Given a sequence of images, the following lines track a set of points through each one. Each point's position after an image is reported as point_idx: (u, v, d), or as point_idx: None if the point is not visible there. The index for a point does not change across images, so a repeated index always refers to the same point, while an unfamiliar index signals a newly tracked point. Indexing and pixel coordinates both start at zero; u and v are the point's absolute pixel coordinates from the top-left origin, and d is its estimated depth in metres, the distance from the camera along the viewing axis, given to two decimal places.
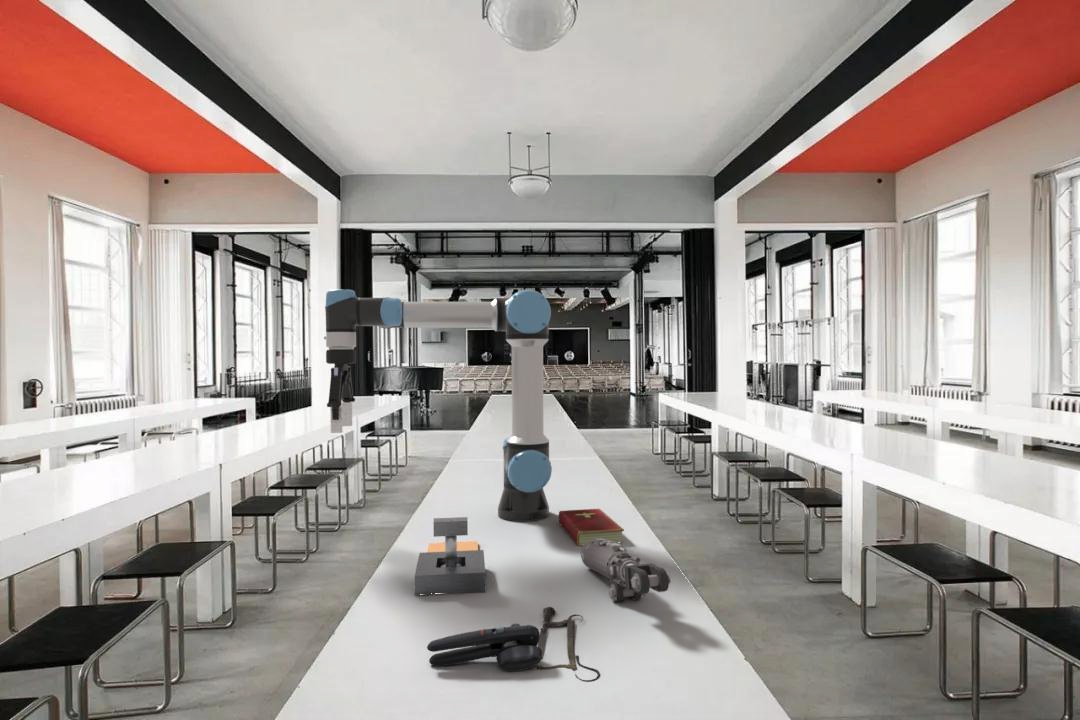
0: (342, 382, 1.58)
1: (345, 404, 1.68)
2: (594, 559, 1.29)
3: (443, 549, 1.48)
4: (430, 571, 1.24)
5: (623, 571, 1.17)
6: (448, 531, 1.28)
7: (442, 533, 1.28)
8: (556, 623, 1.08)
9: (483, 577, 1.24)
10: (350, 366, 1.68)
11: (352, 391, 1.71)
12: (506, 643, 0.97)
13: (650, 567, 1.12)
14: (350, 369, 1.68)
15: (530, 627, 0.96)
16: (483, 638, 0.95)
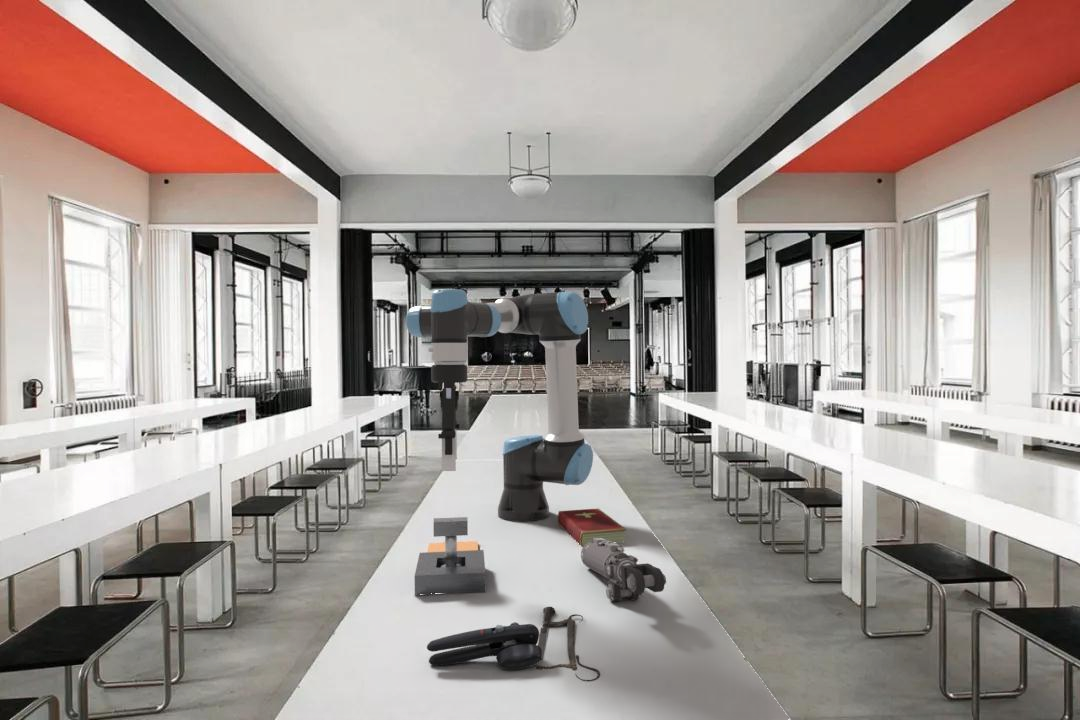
0: None
1: None
2: (592, 559, 1.29)
3: (443, 549, 1.48)
4: (430, 571, 1.24)
5: (620, 571, 1.17)
6: (448, 531, 1.28)
7: (442, 533, 1.28)
8: (556, 622, 1.08)
9: (483, 577, 1.24)
10: (455, 385, 1.36)
11: None
12: (506, 642, 0.97)
13: (646, 567, 1.12)
14: (455, 388, 1.35)
15: (529, 626, 0.96)
16: (483, 637, 0.95)
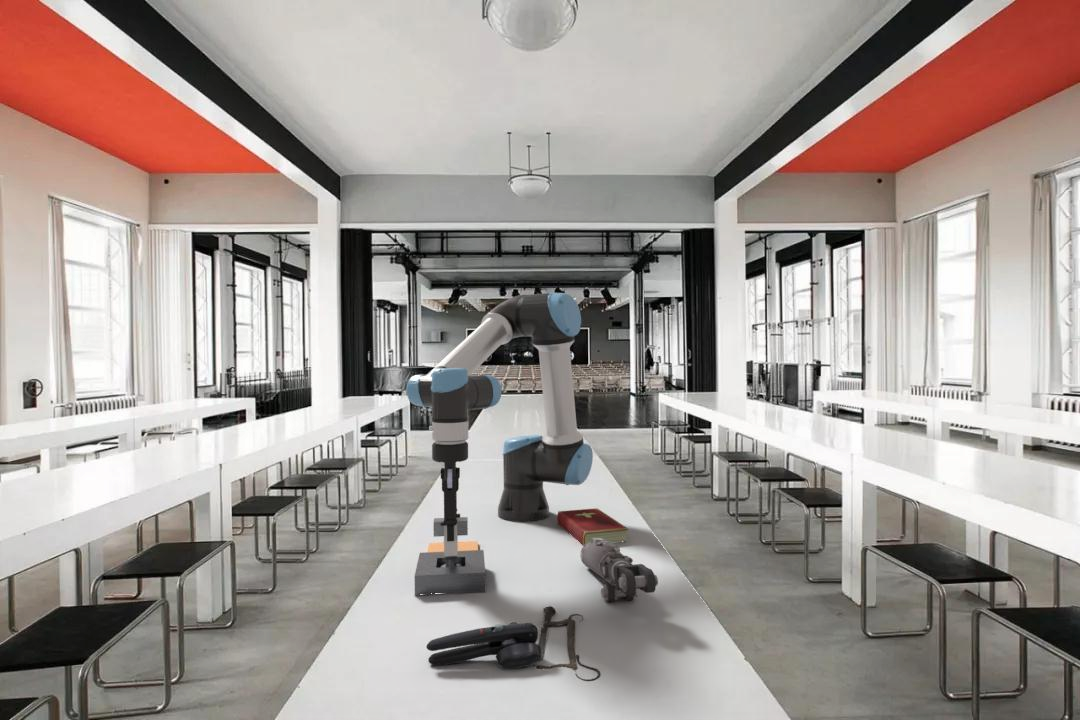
0: None
1: None
2: (590, 559, 1.29)
3: (443, 549, 1.48)
4: (430, 571, 1.24)
5: None
6: None
7: (442, 533, 1.28)
8: (556, 622, 1.08)
9: (483, 577, 1.24)
10: (456, 467, 1.36)
11: None
12: (505, 641, 0.97)
13: (639, 568, 1.12)
14: None
15: (529, 625, 0.97)
16: (483, 636, 0.95)
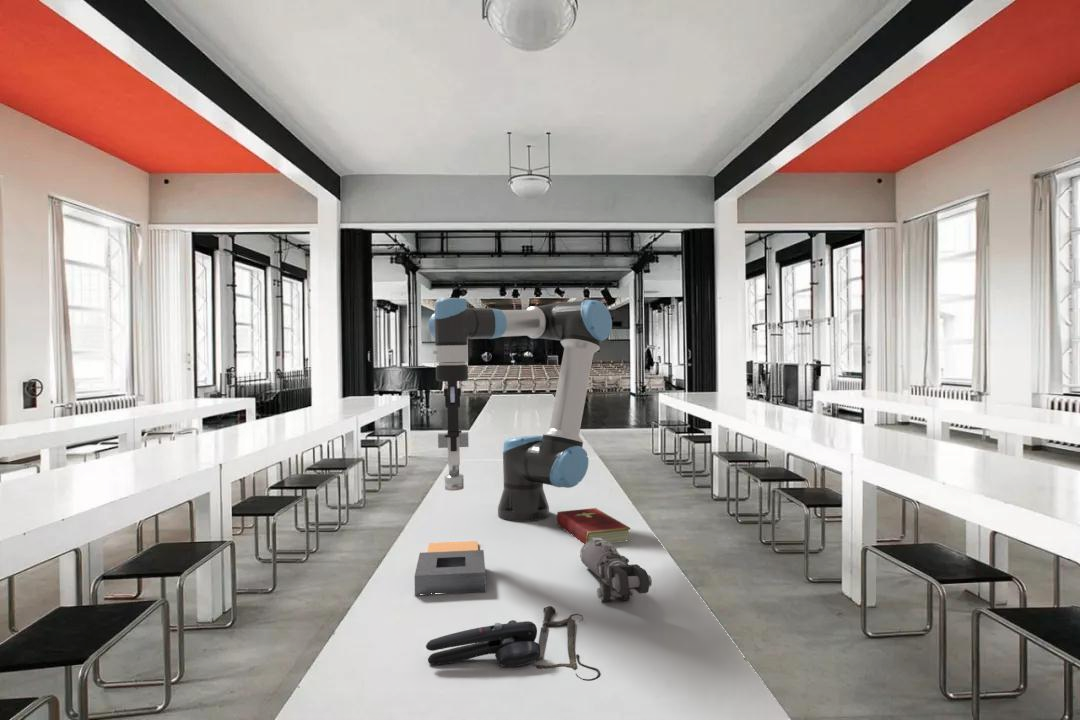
0: None
1: None
2: (588, 559, 1.29)
3: (443, 549, 1.48)
4: (430, 571, 1.24)
5: None
6: None
7: (446, 445, 1.44)
8: (556, 622, 1.08)
9: (483, 577, 1.24)
10: None
11: None
12: (504, 640, 0.98)
13: (633, 568, 1.11)
14: None
15: (528, 623, 0.97)
16: (482, 635, 0.95)
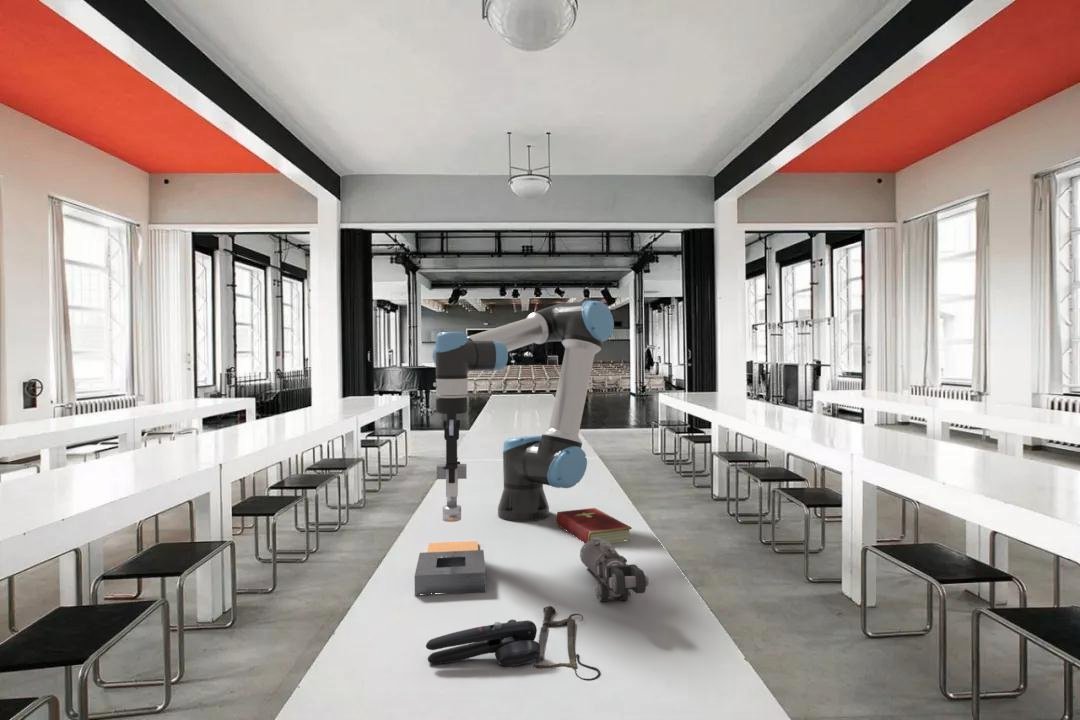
0: None
1: None
2: (587, 558, 1.29)
3: (443, 549, 1.48)
4: (430, 571, 1.24)
5: None
6: None
7: (444, 476, 1.46)
8: (556, 622, 1.08)
9: (483, 577, 1.24)
10: None
11: None
12: (504, 639, 0.98)
13: (631, 568, 1.11)
14: None
15: (527, 623, 0.98)
16: (482, 635, 0.96)
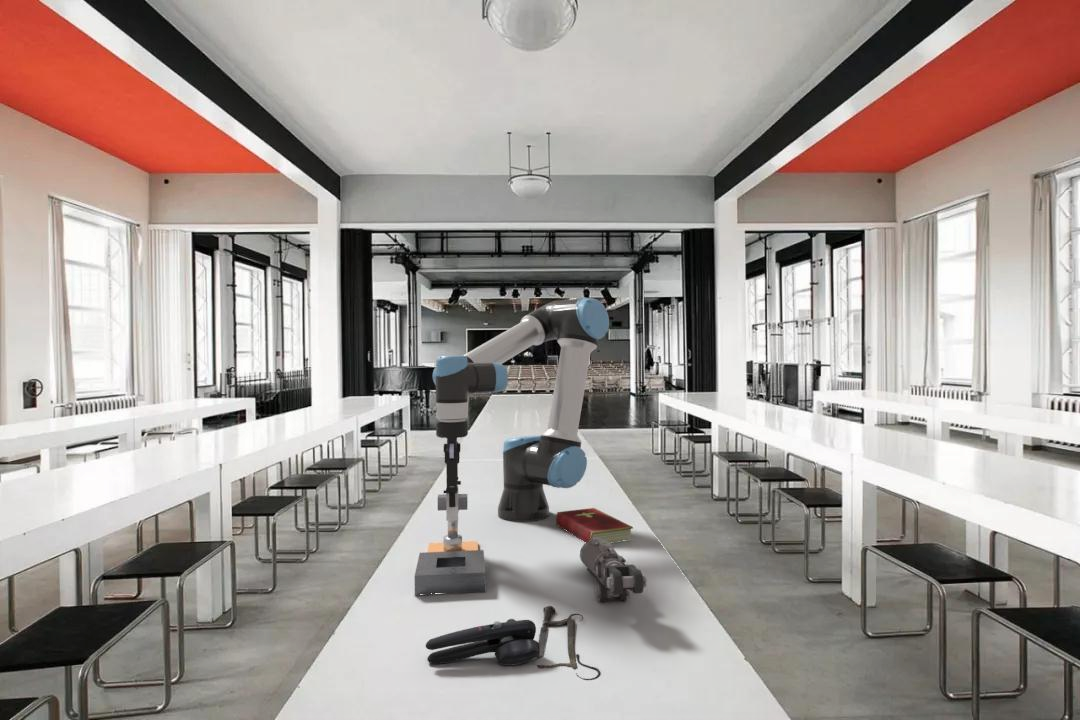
0: None
1: None
2: (587, 558, 1.29)
3: (443, 549, 1.48)
4: (430, 571, 1.24)
5: None
6: None
7: (445, 507, 1.45)
8: (556, 622, 1.09)
9: (483, 577, 1.24)
10: None
11: None
12: (503, 638, 0.98)
13: (629, 568, 1.11)
14: None
15: (527, 622, 0.98)
16: (482, 634, 0.96)
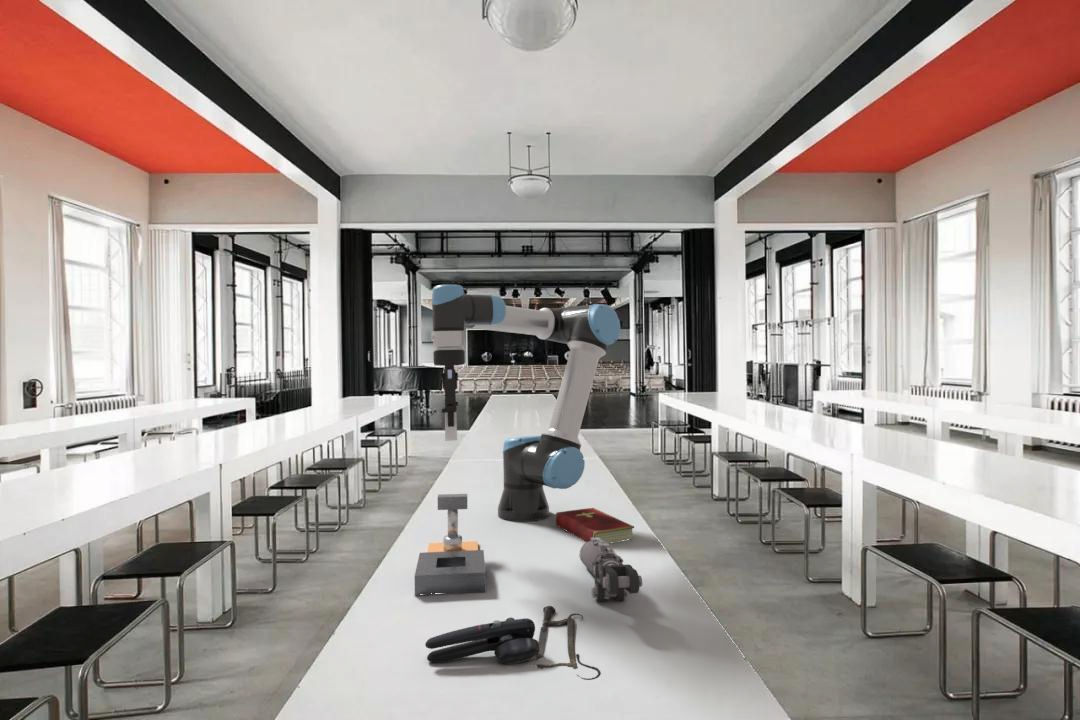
0: None
1: None
2: (586, 558, 1.29)
3: (443, 549, 1.48)
4: (430, 571, 1.24)
5: None
6: (450, 505, 1.46)
7: (445, 507, 1.46)
8: (556, 622, 1.09)
9: (483, 577, 1.24)
10: None
11: None
12: (502, 637, 0.99)
13: (625, 568, 1.11)
14: None
15: (526, 621, 0.99)
16: (481, 633, 0.96)
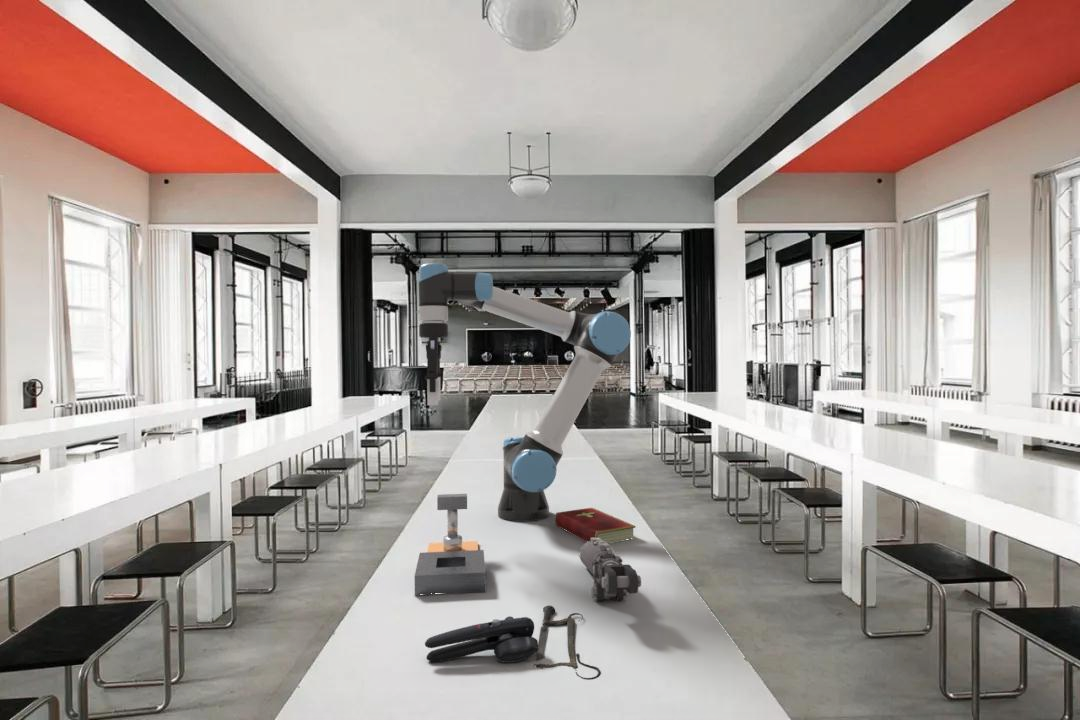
0: (437, 355, 1.59)
1: None
2: (585, 558, 1.29)
3: (443, 549, 1.48)
4: (430, 571, 1.24)
5: None
6: (450, 505, 1.46)
7: (445, 507, 1.46)
8: (556, 621, 1.09)
9: (483, 577, 1.24)
10: None
11: None
12: (502, 636, 0.99)
13: (624, 568, 1.11)
14: (439, 344, 1.69)
15: (525, 619, 0.99)
16: (481, 632, 0.97)
